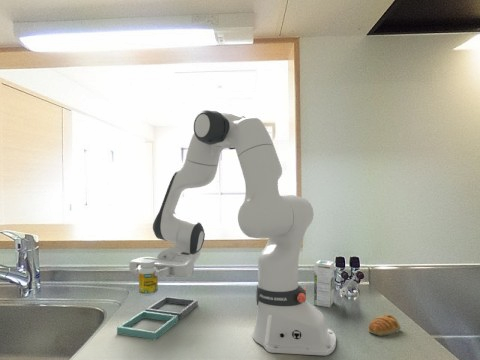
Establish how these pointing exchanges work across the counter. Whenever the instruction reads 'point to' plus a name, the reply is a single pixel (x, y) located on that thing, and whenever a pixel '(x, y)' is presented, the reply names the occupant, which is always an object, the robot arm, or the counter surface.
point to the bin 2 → (181, 314)
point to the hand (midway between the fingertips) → (146, 273)
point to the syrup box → (324, 283)
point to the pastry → (384, 325)
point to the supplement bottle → (147, 278)
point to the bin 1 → (145, 333)
